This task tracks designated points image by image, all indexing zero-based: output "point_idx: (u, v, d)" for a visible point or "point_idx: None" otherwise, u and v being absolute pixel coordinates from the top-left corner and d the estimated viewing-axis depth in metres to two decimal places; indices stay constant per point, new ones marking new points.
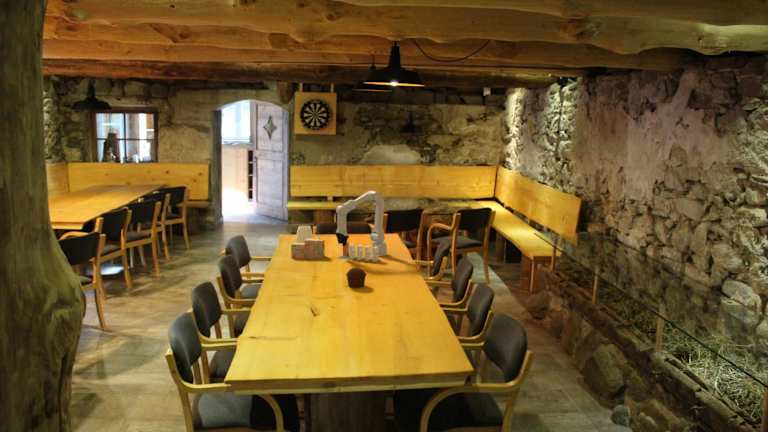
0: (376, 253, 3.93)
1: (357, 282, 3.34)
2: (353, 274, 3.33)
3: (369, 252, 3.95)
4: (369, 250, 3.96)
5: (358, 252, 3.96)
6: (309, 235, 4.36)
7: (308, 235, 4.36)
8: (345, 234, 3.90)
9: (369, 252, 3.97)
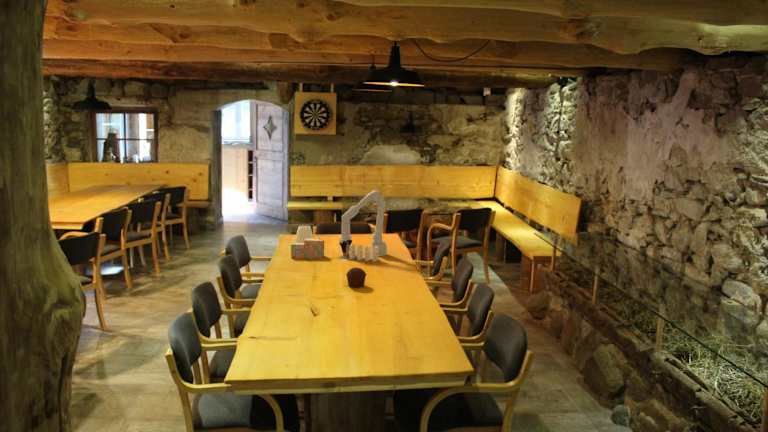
0: (376, 253, 3.93)
1: (357, 282, 3.34)
2: (353, 274, 3.33)
3: (369, 252, 3.95)
4: (369, 250, 3.96)
5: (358, 252, 3.96)
6: (309, 235, 4.36)
7: (308, 235, 4.36)
8: (340, 241, 4.03)
9: (369, 252, 3.97)
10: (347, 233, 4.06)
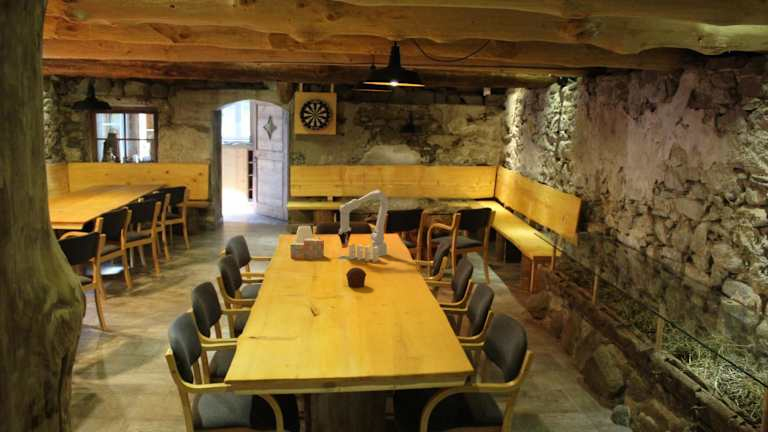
0: (376, 253, 3.93)
1: (357, 282, 3.34)
2: (353, 274, 3.33)
3: (369, 252, 3.95)
4: (369, 250, 3.96)
5: (358, 252, 3.96)
6: (309, 235, 4.36)
7: (308, 235, 4.36)
8: (339, 232, 3.95)
9: (369, 252, 3.97)
10: (346, 224, 3.98)
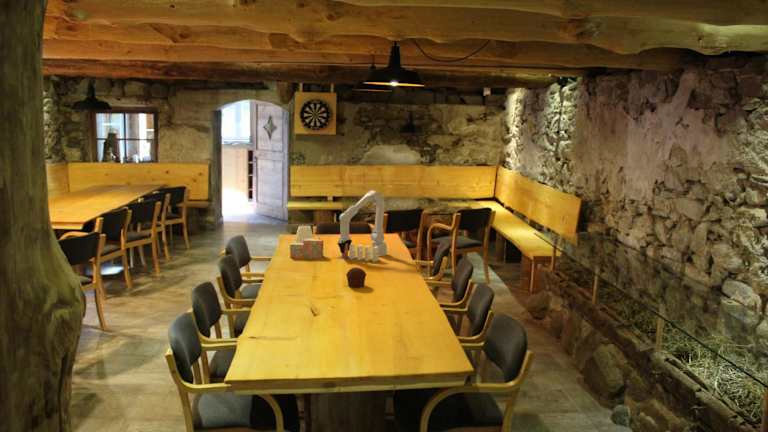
0: (376, 253, 3.93)
1: (357, 282, 3.34)
2: (353, 274, 3.33)
3: (369, 252, 3.95)
4: (369, 250, 3.96)
5: (358, 252, 3.96)
6: (309, 235, 4.36)
7: (308, 235, 4.36)
8: (339, 241, 3.94)
9: (369, 252, 3.97)
10: (346, 233, 3.98)
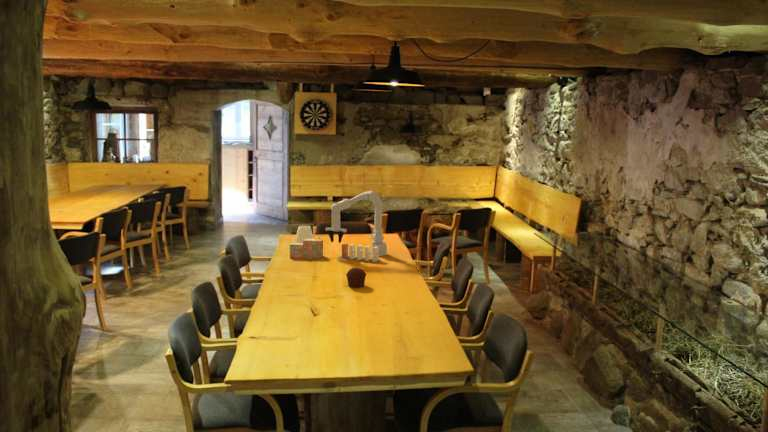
0: (376, 253, 3.93)
1: (357, 282, 3.34)
2: (353, 274, 3.33)
3: (369, 252, 3.95)
4: (369, 250, 3.96)
5: (358, 252, 3.96)
6: (309, 235, 4.36)
7: (308, 235, 4.36)
8: (345, 231, 3.99)
9: (369, 252, 3.97)
10: None
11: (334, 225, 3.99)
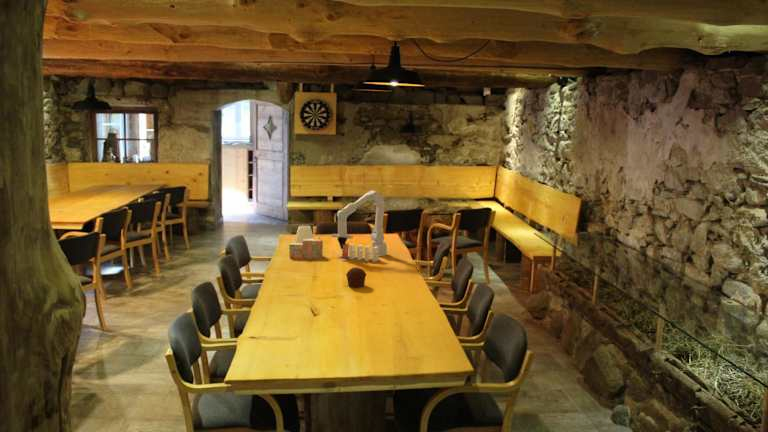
0: (376, 253, 3.93)
1: (357, 282, 3.34)
2: (353, 274, 3.33)
3: (369, 252, 3.95)
4: (369, 250, 3.96)
5: (358, 252, 3.96)
6: (309, 235, 4.36)
7: (308, 235, 4.36)
8: (351, 237, 3.98)
9: (369, 252, 3.97)
10: None
11: (340, 231, 3.98)
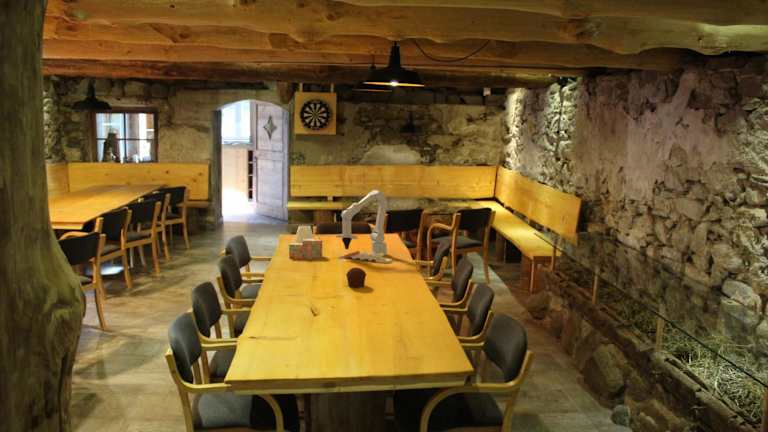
0: None
1: (357, 282, 3.34)
2: (353, 274, 3.33)
3: None
4: None
5: (366, 256, 3.94)
6: (309, 235, 4.36)
7: (308, 235, 4.36)
8: (356, 237, 3.97)
9: None
10: None
11: (345, 232, 3.97)
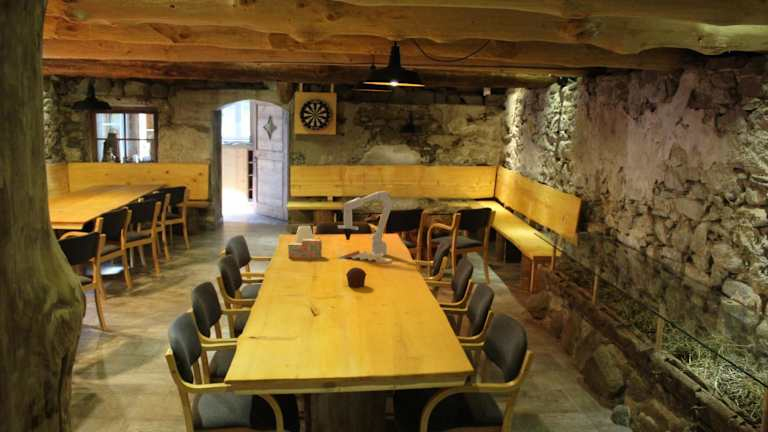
0: None
1: (357, 282, 3.34)
2: (353, 274, 3.33)
3: None
4: None
5: (366, 256, 3.94)
6: (309, 235, 4.36)
7: (308, 235, 4.36)
8: (357, 228, 4.07)
9: None
10: None
11: (346, 223, 4.07)
